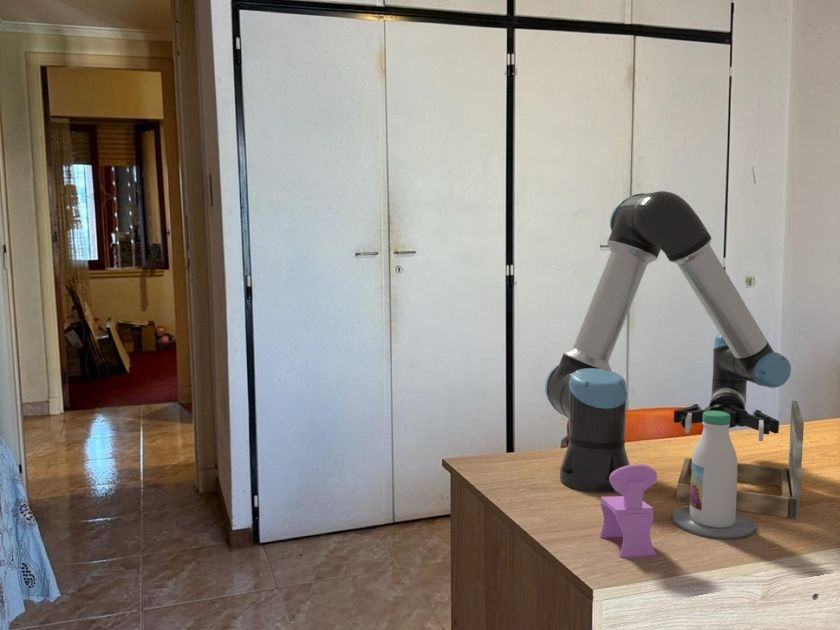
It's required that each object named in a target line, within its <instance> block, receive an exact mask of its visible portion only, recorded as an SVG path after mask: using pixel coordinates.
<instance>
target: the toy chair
mask: <svg viewBox="0 0 840 630" xmlns="http://www.w3.org/2000/svg"><path fill="white" fill-rule="evenodd" d="M657 480H658V475H657V471H656V469H655V468H654V467H652V466H651V465H647V464H641V463H637V464H636V463H635V464H630V465H627V466H624V467H621V468H618V469H616V470H615V471H613V472H612V473H611V474H610V477H609V481H610V484H611V485H612V487H613V488H614V490H615V491H617V493H619V494H620V495H621V496H617V495H616V496H600V507H601V511H602V512H601V513H602V515H603V516H602V518H603V522H602V523H603V524H602V529H601V532H600V534H599V538H600V539H605V538H606V539H607V538H610V539H611V538H622V545H621V549H620V552H619V558H632V557H645V556H646V557H648V556H656V555H657V553H656V551H655V549H654V546H653V543H652V539H651V528H652V525H653V521H654V507H652V506H651V505H649V504H648V503H646V502H645V501H644V492H645V491H646V490H648V489H649V488H651V487H652V486H653V485H654V484H655V483H656V482H657Z"/></svg>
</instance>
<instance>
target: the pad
mask: <svg viewBox="0 0 840 630" xmlns="http://www.w3.org/2000/svg"><path fill="white" fill-rule="evenodd" d="M671 520H672V522H673V523H674V525H675V526H677V527H678V528H680V529H681V530H684V531H685V532H688V533H691V534H693V535H697V536H700V537H705V538H711V539H716V540H717V539H718V540H719V539H720V540H737V539H744V538H747V537H750V536H752V535H753V534H754V533H755V531H756V523H755V521H754V520H753V519H752V518H751V517H750V516H747V515H745V514H744V513H741V512H739V511H738V510H736V516H735V523H734V524H733V526H731V527H726V528H713V527H707V526H703V525H700V524H697V523H695V522H694V521H693V520H692V519H691V517H690V505H685V506H681V507H679V508H677V509H675V510H674V511H673V512H672V519H671Z"/></svg>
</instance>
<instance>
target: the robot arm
mask: <svg viewBox="0 0 840 630" xmlns="http://www.w3.org/2000/svg"><path fill="white" fill-rule="evenodd" d="M609 228H610V230H611V233H610V234H609V238H608V240H607V245H608V247H609V249H610V253H609V256H608V258H607V261H606V264H605V266H604V268H603V271H602V274H601V276H600V279H599V281H598V284H597V287H596V289H595V292H594V293H593V296H592V299H591V301H590V304H589V307H588V308H587V311H586V314H585V317H584V319H583V322H582V325H581V327H580V329H579V332H578V334H577V337H576V339H575V343H574V344H573V347H572V348H571V349H568V350H567V351H564V352H563V354H562V357H561V359H560V361H559V364H558V365H556V366H555V367H553V368H552V369H551V370H550V372H549V373H548V375H547V377H546V380H545V384H544V389H545V390H544V391H545V395H546V398H547V400H548V402H549V403H550V405H551V407H552V408H553V409H554V410H555V411H556V412H558V413H559V414H560V415H562V416H564V417H565V418H567V419H568V421H569V422H568V425H569V426H568V445H567V449H566V451H565V454H564V457H563V460H562V463H561V464H560V468H559V480H560V481H561V483H562V484H563V485H565V486H567V487H569V488H572V489H575V490H579V491H584V492H591V493H616V492H617V491H615V490H614V488H613V487H612V485H611V484H610V481H609V477H610V474H611V473H612V472H613V471H615V470H616V469H618V468H621V467H624V466H627V465H631V464H630V461H629V458H628V455H627V451H626V447H625V446H626V445H625V444H626V441H625V440H626V423H627V422H626V418H627V417H626V416H627V415H626V414H627V398H628V391H627V382H626V380H625V379H624V377H623V376H622V375H621V374H619V373H617V372H615V371H613V370H612V368H611V366H610V362H609V361H610V359H611V356H612V353H613V351H614V349H615V346H616V344H617V341H618V339H619V337H620V334H621V331H622V329H623V326H624V324H625V323H626V319H627V317H628V313H629V312H630V308H631V307H632V304H633V301H634V299H635V296H636V295H637V294H636V293H637V292H638V288H639V286H640V284H641V283H642V282H641V281H642V279H643V276H644V274H645V272H646V269H647V267H648V265H650V264H651V263H653V262H656V261H657V260H658V257H659V255H660V253H661V251H662V252H663V253H664V255H665V256H666V258H667V259H668V261H669V262H670V263H675V264H677V266H678V267H679V269H680V271H681V272H682V274H683V277H685V279H686V280H687V282H688V284H689V286H690V287H691V289H692V290H693V291H694V293H695V295H696V297H697V298H698V300H699V302H700V303H701V305H702V306H703V308H704V309H705V311H706V313H707V314H708V316H709V318H710V320H711V321H712V322H713V325H714V326H715V327H716V329H717V331H718V332H719V333H718V334H716V335H715V337H714V344H713V345H714V347H713V349H712V351H713V358H712V360H713V362H712V380H711V381H712V382H711V398H710V402H709V405H708V406H706V407H705V408H703V407H702V408H701V405H700V404H697V403H695V404H693V405H691V406H688V407H683V408H678V409H674V411H673V423H675V424H679V423H680V426H681V428H684V433H685V434H690V431H691V428H692V424H700V423H703V412H705V411H721V412H726V413H728V414H730V427H729V428H728V429H730V428H731V429H733V428H735V427H747V428H750V429H752V430H755V431H758V442H763V441H764V435H770V432H771V433H773V434H779V433H780V432H779V431H780V421H779V420H778V419H775V418H773V417H771V416H769V415H768V414H765V413H763V412H762V410H760V409H755V410H753V411H752V413H749V412H748V411H747V410H746V404H747V385H748V382H750V383H752V384H756V385H758V386H761V387H767V388H770V389H771V388H772V389H773V388H774V389H775V388H779V387H781V386H783V385H784V384H786V382H787V381H789V379H790V376H791V374H792V366H791V362H790V361H789V359H788V358H787V357H785V356H784V355H783V354H781V353H779V352H777V351H776V352H775V350H774V349H773V347H772V346H771V345H770V343H769V342H768V339H767V338H766V335H764V333H763V331H762V329H761V328H760V326H759V325H758V323H757V321H756V319H755V318H754V316H753V315H752V313H751V311H750V309H749V308H748V306H747V305H746V303H745V301H744V300H743V298H742V296H741V295H740V293H739V291H738V289H737V288H736V286H735V285H734V283H733V280H732V279H731V278H730V277H729V274H728V273H727V271H726V270H725V268H724V266H723V265H722V262H721V261H720V259H719V258H718V257H717V255H716V253H715V251H714V250H713V248H712V246H711V242H712V239H713V238H712V236H711V234H710V233H709V231H708V229H707V227H706V226H705V224H704V223H703V222H702V220H701V218H700V217H699V216H698V214H697V212H696V211H695V210H694V209H693V208H692V207H691V205H690V204H689V203H688V202H687V201H686V200H685V199H684V198H683V197H682V196H680V195H679V194H676V193H673V192H671V191H664V190H660V191H659V190H658V191H655V192H649V193H648V192H647V193H636V194H633V195H630V196H628V197H626V198H624V199H622V200H621V201H619V202H618V203H617V204H616V206H615V207H614V209H613V211H612V213H611V214H610V219H609ZM617 493H618V492H617Z"/></svg>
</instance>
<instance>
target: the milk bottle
mask: <svg viewBox="0 0 840 630" xmlns="http://www.w3.org/2000/svg"><path fill="white" fill-rule="evenodd" d="M701 423H702V425H703V428H702V433H701V435H700V437H699V438H698V442H697V443H696V444H695V447H694V448H693V449H694V450H693V453H692V457H691V458H692V469H691V474H690V485H691V491H690V503H689V506H690V517H691V519H692V520H693V521H694V522H695V523H697V524H700V525H703V526H707V527H713V528H726V527H731V526H733V524H734V523H735V516H736V511H737V510H736V495H737V491H738V489H737V488H738V480H737V463H738V456H737V452H736V449H735V447H734V444H733V442H732V439H731V435H730V433H729V431H730V430H729V429H730V428H729V427H730V414H728V413H726V412H721V411H705V412H703V422H701Z"/></svg>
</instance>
